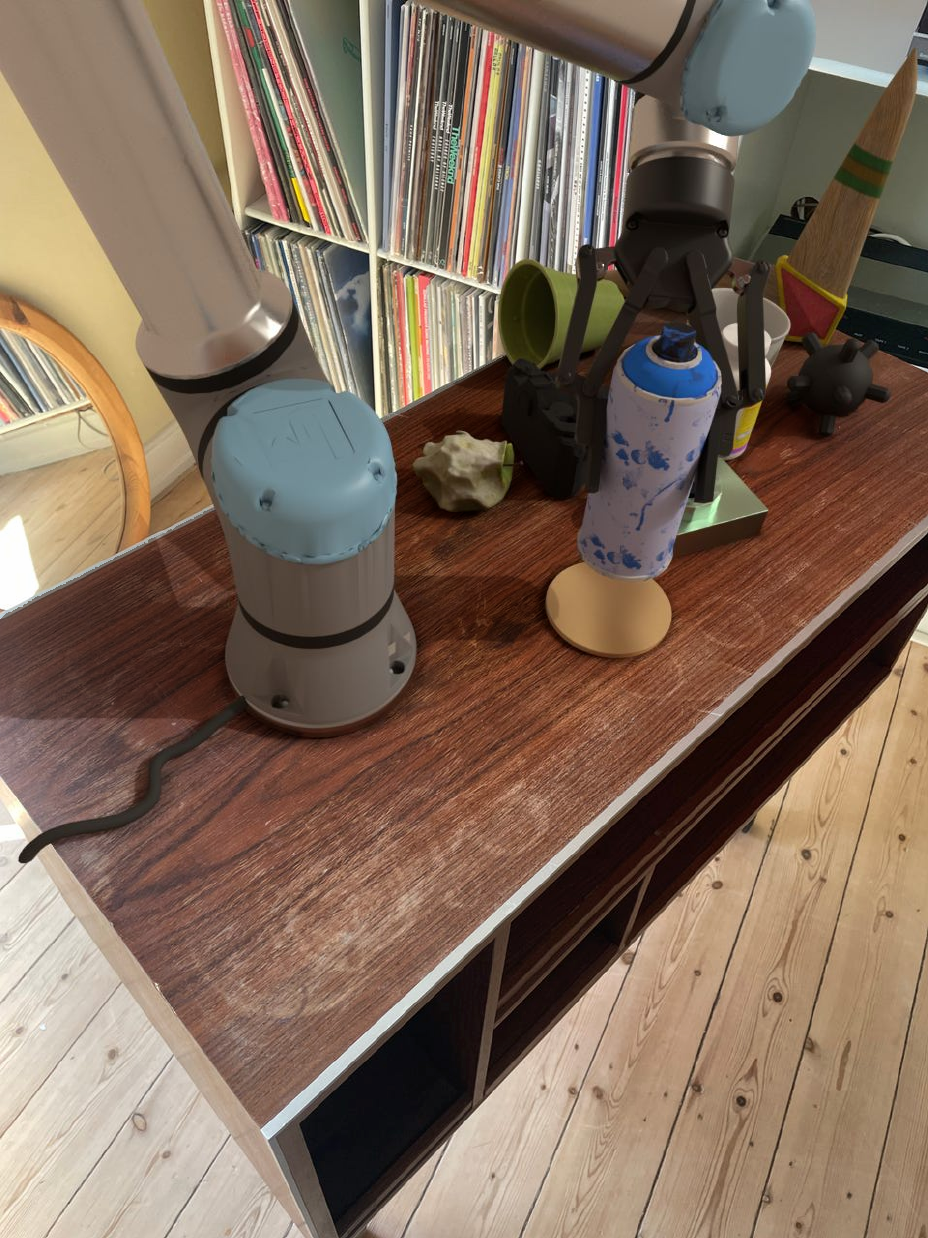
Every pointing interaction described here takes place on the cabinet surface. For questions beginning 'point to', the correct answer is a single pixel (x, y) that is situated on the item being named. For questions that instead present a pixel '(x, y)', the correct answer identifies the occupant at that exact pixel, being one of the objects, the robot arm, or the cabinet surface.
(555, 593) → the coaster
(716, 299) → the teacup
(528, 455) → the film camera
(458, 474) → the fruit
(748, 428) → the supplement bottle
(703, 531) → the green knob plate
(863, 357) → the toy ball
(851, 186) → the wooden v shape
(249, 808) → the cabinet surface
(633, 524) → the aerosol can
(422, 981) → the cabinet surface
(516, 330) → the plant pot
